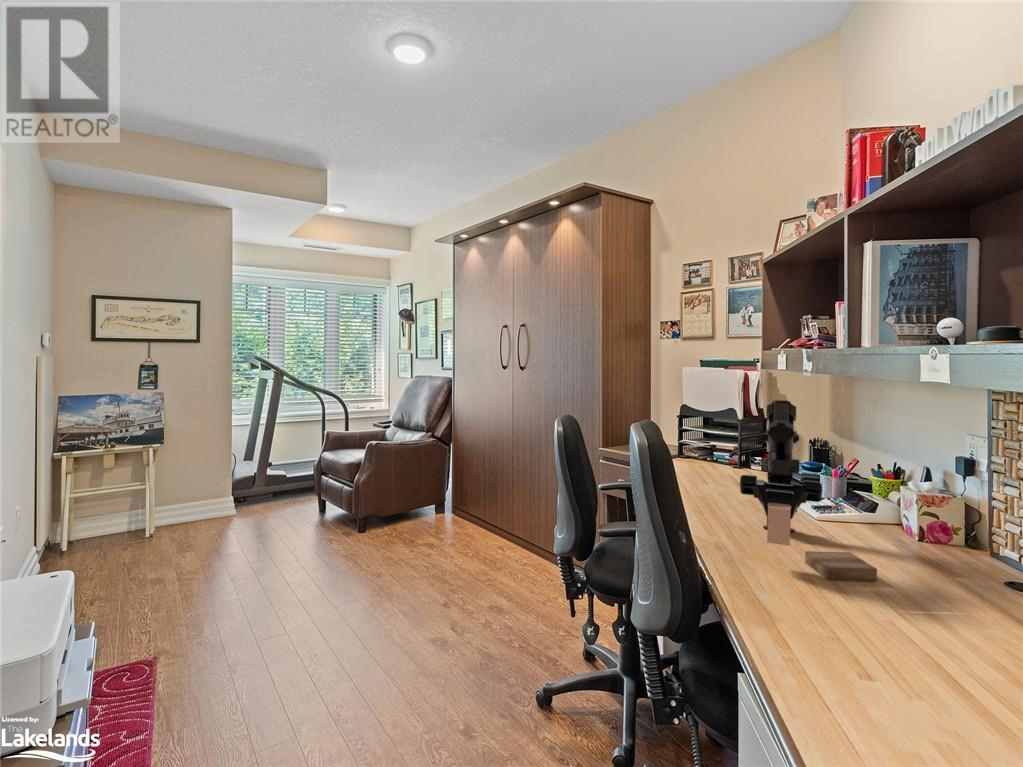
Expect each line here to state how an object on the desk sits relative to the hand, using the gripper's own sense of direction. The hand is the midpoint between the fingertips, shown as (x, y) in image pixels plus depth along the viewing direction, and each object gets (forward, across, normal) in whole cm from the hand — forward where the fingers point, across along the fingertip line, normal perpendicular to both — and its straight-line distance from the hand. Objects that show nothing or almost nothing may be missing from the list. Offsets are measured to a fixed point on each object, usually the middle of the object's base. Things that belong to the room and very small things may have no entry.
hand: (779, 516), depth 132 cm
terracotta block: (+4, 0, +6) cm, 7 cm away
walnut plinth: (+6, +14, +12) cm, 19 cm away
